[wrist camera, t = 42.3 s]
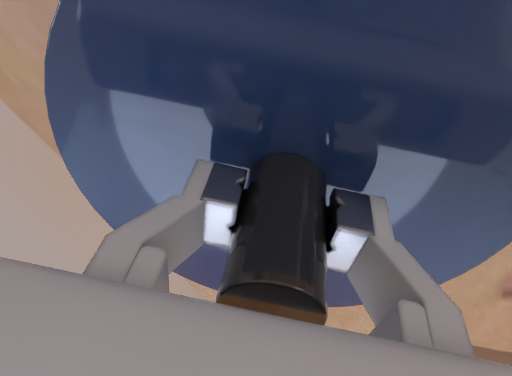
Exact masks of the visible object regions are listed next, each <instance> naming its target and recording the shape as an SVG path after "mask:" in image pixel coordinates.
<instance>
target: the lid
mask: <svg viewBox="0 0 512 376" xmlns="http://www.w3.org/2000/svg"><path fill="white" fill-rule="evenodd" d="M45 97H46V104H47V110H48V117H49V121H50V125H51V128H52V131H53V135H54V138H55V141H56V145H57V147H58V149H59V151H60V154H61V156H62V158H63V160H64V163H65V165H66V167H67V169H68V171H69V172H70V174H71V176H72V177H73V179H74V181H75V182H76V184H77V186H78V187H79V189H80V191H81V192H82V193H83V194H84V196H85V197H86V199H87V200H88V201H89V203H90V204H91V205H92V207H93V208H94V209H95V210H96V211H97V212H98V213H99V214H100V215H101V217H102V218H103V219H104V220H105V221H106V222H107V223H108V224H109V225H110V226H111V227H112V228H113V229H114V230H115V229H117V228H119V227H121V226H122V225H124V224H126V223H128V222H129V221H131V220H133V219H135V218H136V217H138V216H140V215H141V214H143V213H145V212H147V211H148V210H150V209H152V208H154V207H155V206H157V205H159V204H161V203H162V202H164V201H166V200H167V199H169V198H171V197H173V196H174V195H180V196H181V194H182V192H183V189H184V187H185V185H186V183H187V180H188V178H189V176H190V173H191V171H192V169H193V167H194V164H195V162H196V161H197V160H198V159H202V160H206V161H211V162H214V163H215V162H216V163H221V164H225V165H229V166H233V167H238V168H242V169H246V170H247V177H246V182H245V186H244V190H243V195H242V198H241V202H240V206H239V210H238V214H237V218H236V222H235V226H234V230H233V234H232V237H231V241H230V245H229V248H227V247H221V246H216V245H210V244H205V243H203V245H202V246H201V247H200V248H198V249H197V250H196V251H195V252H194V253H193V254H192V255H190V256H189V257H188V258H187V259H186V260H185V261H184V262H182V263H181V264H180V265H179V266H178V267H177V268H176V269H174V270H173V272H175V273H177V274H179V275H181V276H183V277H185V278H187V279H190V280H192V281H194V282H196V283H199V284H201V285H204V286H206V287H209V288H212V289H215V290H217V291H218V293H217V297H216V303H220V304H224V305H229V306H234V307H239V308H243V309H248V310H253V311H257V312H262V313H267V314H272V315H276V316H281V317H286V318H290V319H295V320H300V321H305V322H309V323H314V324H319V325H324V324H325V323H326V320H327V316H328V307H344V306H354V305H363V303H362V301H361V300H360V298H359V296H358V294H357V293H356V291H355V289H354V287H353V286H352V284H351V282H350V280H349V279H348V277H347V275H346V274H347V273H343V272H339V271H334V270H330V269H327V206H328V205H329V197H330V195H331V192H332V190H333V189H334V188H337V189H342V190H347V191H352V192H357V193H362V194H366V195H368V194H369V195H374V196H379V197H385V199H386V200H387V204H388V209H389V214H390V219H391V224H392V229H393V234H394V240H395V241H399V242H400V243H401V244H402V245H403V246H404V247H405V248H406V249H407V250H408V252H409V253H410V254H411V255H412V256H413V257H414V258H415V259H416V260H417V262H418V263H419V264H420V265H421V266H422V267H423V268H424V269H425V271H426V272H427V273H428V274H429V275H430V276H431V277H432V278H433V280H434V281H435V282H436V283H437V284H438V285H440V284H442V283H444V282H446V281H448V280H451V279H453V278H455V277H457V276H459V275H461V274H463V273H465V272H467V271H469V270H470V269H472V268H474V267H476V266H477V265H479V264H481V263H483V262H484V261H486V260H487V259H489V258H490V257H492V256H493V255H494V254H496V253H497V252H499V251H500V250H501V249H503V248H504V247H506V246H507V245H508V244H509V243H510V242H512V0H60V1H59V4H58V7H57V10H56V13H55V16H54V19H53V21H52V24H51V27H50V32H49V38H48V44H47V50H46V56H45Z"/></svg>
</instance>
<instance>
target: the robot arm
mask: <svg viewBox="0 0 512 376" xmlns="http://www.w3.org/2000/svg"><path fill="white" fill-rule="evenodd" d="M246 177H247V170H246V169H242V168H238V167H233V166H229V165H225V164H221V163H216V162H215V163H214V162H211V161H206V160H202V159H198V160H197V161H196V162H195V164H194V167H193V169H192V171H191V173H190V176H189V178H188V180H187V183H186V185H185V187H184V189H183V192H182V194H181V196H180V195H174V196H173V197H171V198H169V199H167V200H166V201H164V202H162V203H161V204H159V205H157V206H155V207H154V208H152V209H150V210H148V211H147V212H145V213H143V214H141V215H140V216H138V217H136V218H135V219H133V220H131V221H129V222H128V223H126V224H124V225H122V226H121V227H119V228H117V229H115V230H114V231H112V232H110V233H109V234H107V235H106V236H105V238H104V239H103V241H102V243H101V244H100V246H99V247H98V249H97V251H96V253H95V254H94V256H93V257H92V259H91V261H90V263H89V264H88V266H87V267H86V269H85V271H84V272H83V274H78V273H73V272H68V271H64V270H59V269H54V268H50V267H45V266H40V265H36V264H31V263H26V262H21V261H16V260H12V259H7V258H2V257H0V376H512V365H508V364H504V363H498V362H494V361H489V360H484V359H480V358H475V355H474V352H473V349H472V345H471V342H470V339H469V335H468V332H467V329H466V326H465V322H464V319H463V316H462V312H461V310H460V309H459V308H458V306H457V305H456V304H455V303H454V302H453V301H452V300H451V299H450V298H449V296H448V295H447V294H446V293H445V292H444V291H443V290H442V289H441V287H440V286H439V285H438V284H437V283H436V282H435V281H434V280H433V278H432V277H431V276H430V275H429V274H428V273H427V272H426V271H425V269H424V268H423V267H422V266H421V265H420V264H419V263H418V262H417V260H416V259H415V258H414V257H413V256H412V255H411V254H410V253H409V252H408V250H407V249H406V248H405V247H404V246H403V245H402V244H401V243H400V242H399V241H395V240H394V234H393V229H392V224H391V219H390V214H389V209H388V204H387V200H386V199H385V197H379V196H374V195H369V194H368V195H366V194H362V193H357V192H352V191H347V190H342V189H337V188H334V189H333V190H332V192H331V195H330V197H329V205H328V206H327V269H330V270H334V271H339V272H343V273H347V274H346V275H347V277H348V279H349V280H350V282H351V284H352V286H353V287H354V289H355V291H356V293H357V294H358V296H359V298H360V300H361V301H362V303H363V305H364V307H365V308H366V310H367V312H368V314H369V315H370V317H371V319H372V321H373V322H374V324H375V326H376V327H375V328H374V329H373V331H372V332H371V333H370V334H369V335H366V334H362V333H357V332H352V331H347V330H343V329H338V328H333V327H328V326H324V325H319V324H314V323H309V322H305V321H300V320H295V319H290V318H286V317H281V316H276V315H272V314H267V313H262V312H257V311H253V310H248V309H243V308H239V307H234V306H229V305H224V304H220V303H215V302H210V301H206V300H201V299H196V298H191V297H187V296H182V295H177V294H172V293H169V280H168V279H169V278H168V275H169V274H170V273H171V272H172V271H173V270H174V269H176V268H177V267H178V266H179V265H180V264H181V263H182V262H184V261H185V260H186V259H187V258H188V257H189V256H190V255H192V254H193V253H194V252H195V251H196V250H197V249H198V248H200V247H201V246H202V245H203V243H205V244H210V245H216V246H221V247H227V248H229V245H230V241H231V237H232V234H233V230H234V226H235V222H236V218H237V214H238V210H239V206H240V202H241V198H242V195H243V190H244V186H245V182H246Z"/></svg>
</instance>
